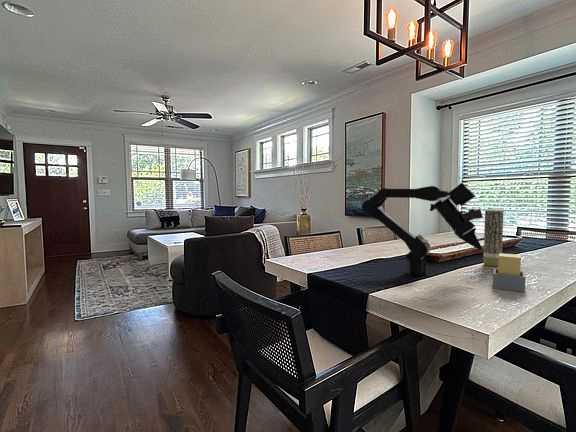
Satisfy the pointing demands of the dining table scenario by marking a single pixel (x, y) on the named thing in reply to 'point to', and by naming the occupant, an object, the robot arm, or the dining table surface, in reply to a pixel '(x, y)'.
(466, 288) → the dining table surface
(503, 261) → the ochre block
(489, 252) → the bark textured cylinder
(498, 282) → the sleeve
